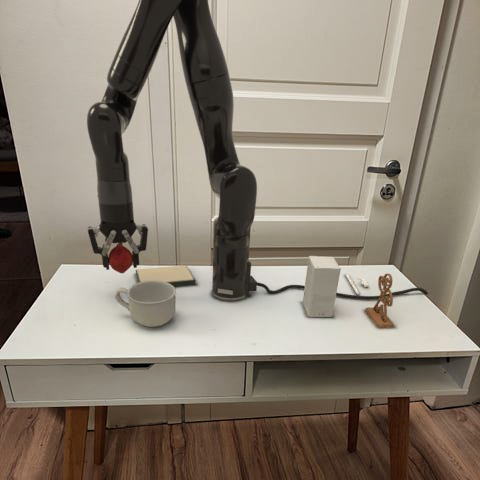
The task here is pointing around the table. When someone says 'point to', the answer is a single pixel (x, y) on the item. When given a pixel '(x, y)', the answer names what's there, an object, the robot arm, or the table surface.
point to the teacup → (149, 302)
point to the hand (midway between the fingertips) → (121, 267)
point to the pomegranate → (120, 258)
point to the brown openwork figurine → (377, 312)
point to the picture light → (353, 284)
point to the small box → (321, 286)
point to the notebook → (167, 275)
